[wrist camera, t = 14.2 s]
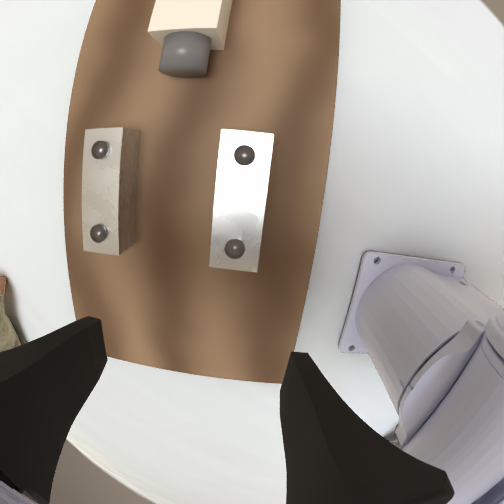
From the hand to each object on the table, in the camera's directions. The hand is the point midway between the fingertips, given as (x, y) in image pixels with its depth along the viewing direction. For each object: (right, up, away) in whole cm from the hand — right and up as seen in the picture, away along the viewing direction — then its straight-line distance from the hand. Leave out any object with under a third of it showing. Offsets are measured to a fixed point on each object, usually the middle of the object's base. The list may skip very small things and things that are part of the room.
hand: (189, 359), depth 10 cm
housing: (-2, +8, +6) cm, 10 cm away
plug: (-1, +18, +3) cm, 18 cm away
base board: (-2, +9, +7) cm, 11 cm away
